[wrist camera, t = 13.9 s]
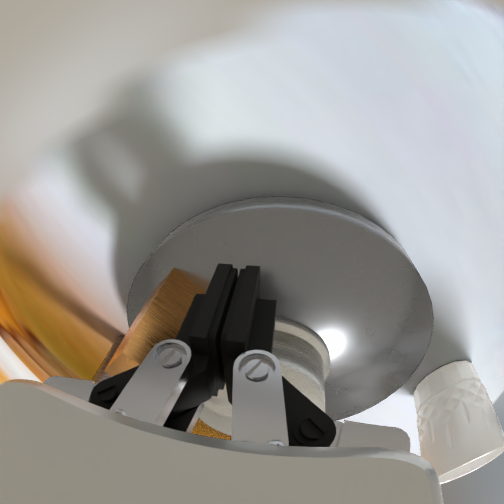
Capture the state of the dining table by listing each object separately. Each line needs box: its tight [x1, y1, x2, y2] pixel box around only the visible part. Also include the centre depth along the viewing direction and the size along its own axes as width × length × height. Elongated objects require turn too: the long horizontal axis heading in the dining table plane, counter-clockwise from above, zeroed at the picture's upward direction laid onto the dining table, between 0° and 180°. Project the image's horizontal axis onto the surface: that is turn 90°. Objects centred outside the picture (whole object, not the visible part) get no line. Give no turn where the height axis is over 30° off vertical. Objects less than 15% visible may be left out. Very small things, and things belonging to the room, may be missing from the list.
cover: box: [199, 316, 331, 436], centre depth 14 cm, size 8×8×4 cm
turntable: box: [104, 196, 433, 421], centre depth 14 cm, size 19×19×7 cm
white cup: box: [413, 360, 504, 484], centre depth 16 cm, size 8×8×10 cm
